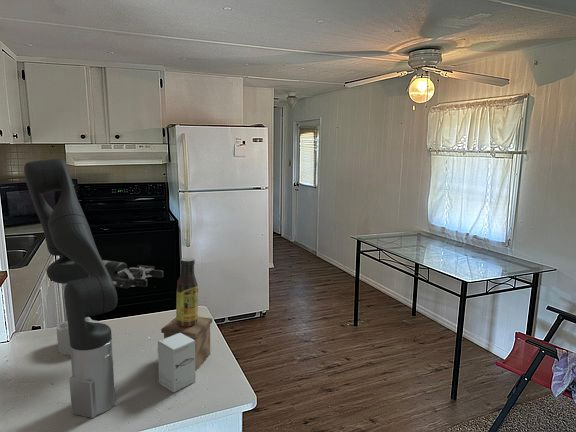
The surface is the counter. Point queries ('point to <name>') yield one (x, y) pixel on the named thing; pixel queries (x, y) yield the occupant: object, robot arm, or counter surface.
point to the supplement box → (176, 361)
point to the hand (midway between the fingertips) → (155, 278)
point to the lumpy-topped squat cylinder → (66, 336)
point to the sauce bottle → (187, 294)
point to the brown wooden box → (193, 336)
